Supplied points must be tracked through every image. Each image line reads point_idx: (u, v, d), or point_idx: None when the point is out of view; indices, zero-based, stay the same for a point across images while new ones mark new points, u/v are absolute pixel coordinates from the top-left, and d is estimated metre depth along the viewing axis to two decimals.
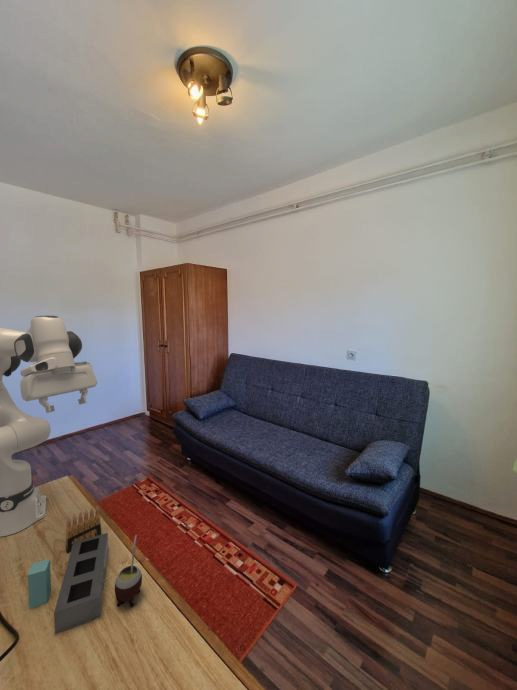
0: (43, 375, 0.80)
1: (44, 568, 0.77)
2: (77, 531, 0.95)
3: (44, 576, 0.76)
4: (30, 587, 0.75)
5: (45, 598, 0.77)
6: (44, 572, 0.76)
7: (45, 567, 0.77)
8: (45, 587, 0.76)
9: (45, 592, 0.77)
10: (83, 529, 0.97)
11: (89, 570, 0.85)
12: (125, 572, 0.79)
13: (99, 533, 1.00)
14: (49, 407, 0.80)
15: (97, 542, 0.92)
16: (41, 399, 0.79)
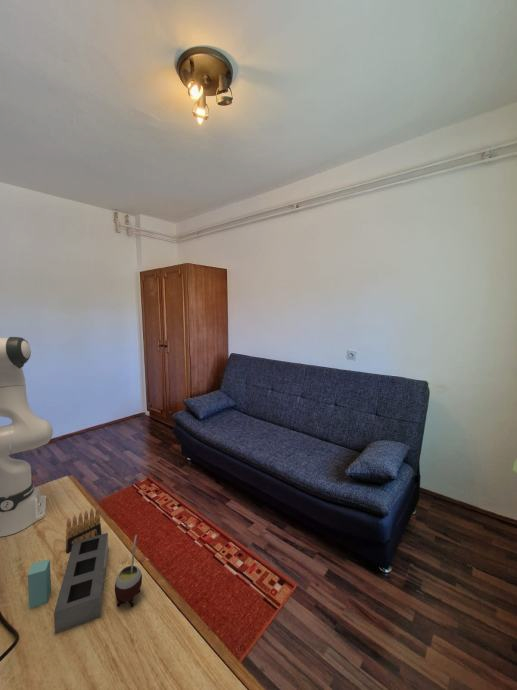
0: None
1: (44, 568, 0.77)
2: (77, 531, 0.95)
3: (44, 576, 0.76)
4: (30, 587, 0.75)
5: (45, 598, 0.77)
6: (44, 572, 0.76)
7: (45, 567, 0.77)
8: (45, 587, 0.76)
9: (45, 592, 0.77)
10: (83, 529, 0.97)
11: (89, 570, 0.85)
12: (125, 572, 0.79)
13: (99, 533, 1.00)
14: None
15: (97, 542, 0.92)
16: None
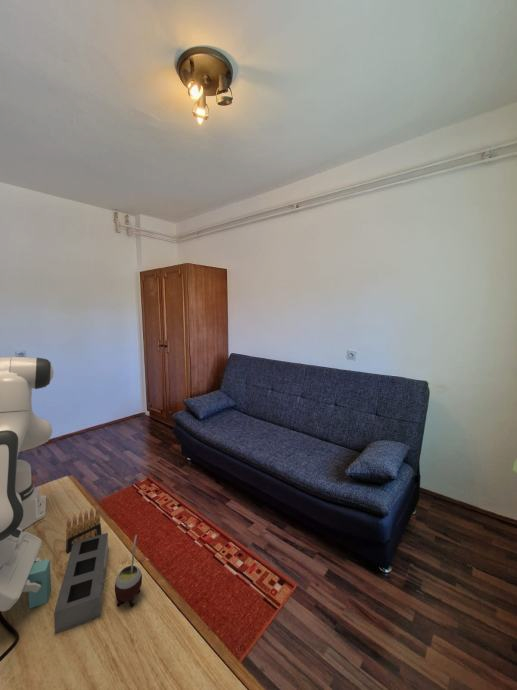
0: None
1: (44, 568, 0.77)
2: (77, 531, 0.95)
3: (44, 576, 0.76)
4: None
5: (45, 598, 0.77)
6: (44, 572, 0.76)
7: (45, 567, 0.77)
8: (45, 587, 0.76)
9: (45, 592, 0.77)
10: (83, 529, 0.97)
11: (89, 570, 0.85)
12: (125, 572, 0.79)
13: (99, 533, 1.00)
14: None
15: (97, 542, 0.92)
16: None
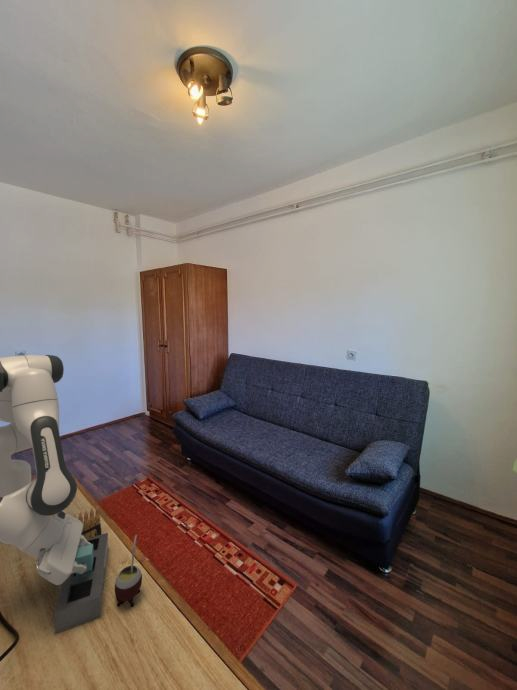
0: None
1: (89, 552, 0.81)
2: None
3: (90, 559, 0.80)
4: None
5: None
6: (90, 556, 0.80)
7: (90, 551, 0.81)
8: (90, 570, 0.81)
9: None
10: (83, 529, 0.97)
11: None
12: (125, 572, 0.79)
13: (99, 533, 1.00)
14: None
15: (97, 542, 0.92)
16: None
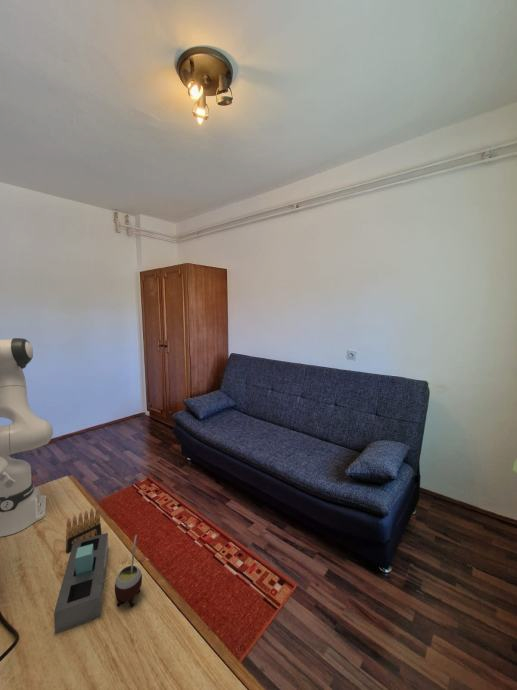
0: None
1: (89, 552, 0.81)
2: (77, 531, 0.95)
3: (90, 559, 0.80)
4: (77, 569, 0.79)
5: None
6: (90, 556, 0.80)
7: (90, 551, 0.81)
8: (90, 570, 0.81)
9: None
10: (83, 529, 0.97)
11: None
12: (125, 572, 0.79)
13: (99, 533, 1.00)
14: None
15: (97, 542, 0.92)
16: None
